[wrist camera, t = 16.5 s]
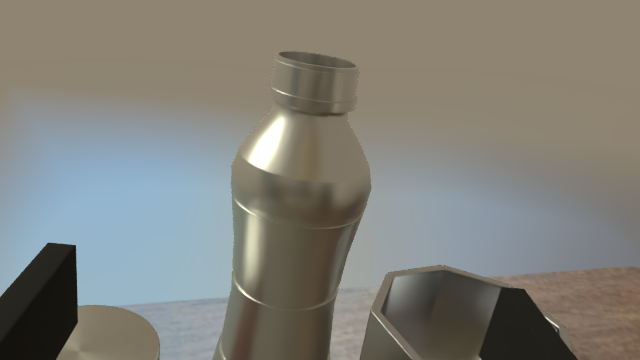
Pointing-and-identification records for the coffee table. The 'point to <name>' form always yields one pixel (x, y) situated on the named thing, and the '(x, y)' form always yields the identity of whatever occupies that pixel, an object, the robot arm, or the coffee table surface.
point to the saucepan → (434, 315)
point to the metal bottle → (294, 212)
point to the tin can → (111, 336)
